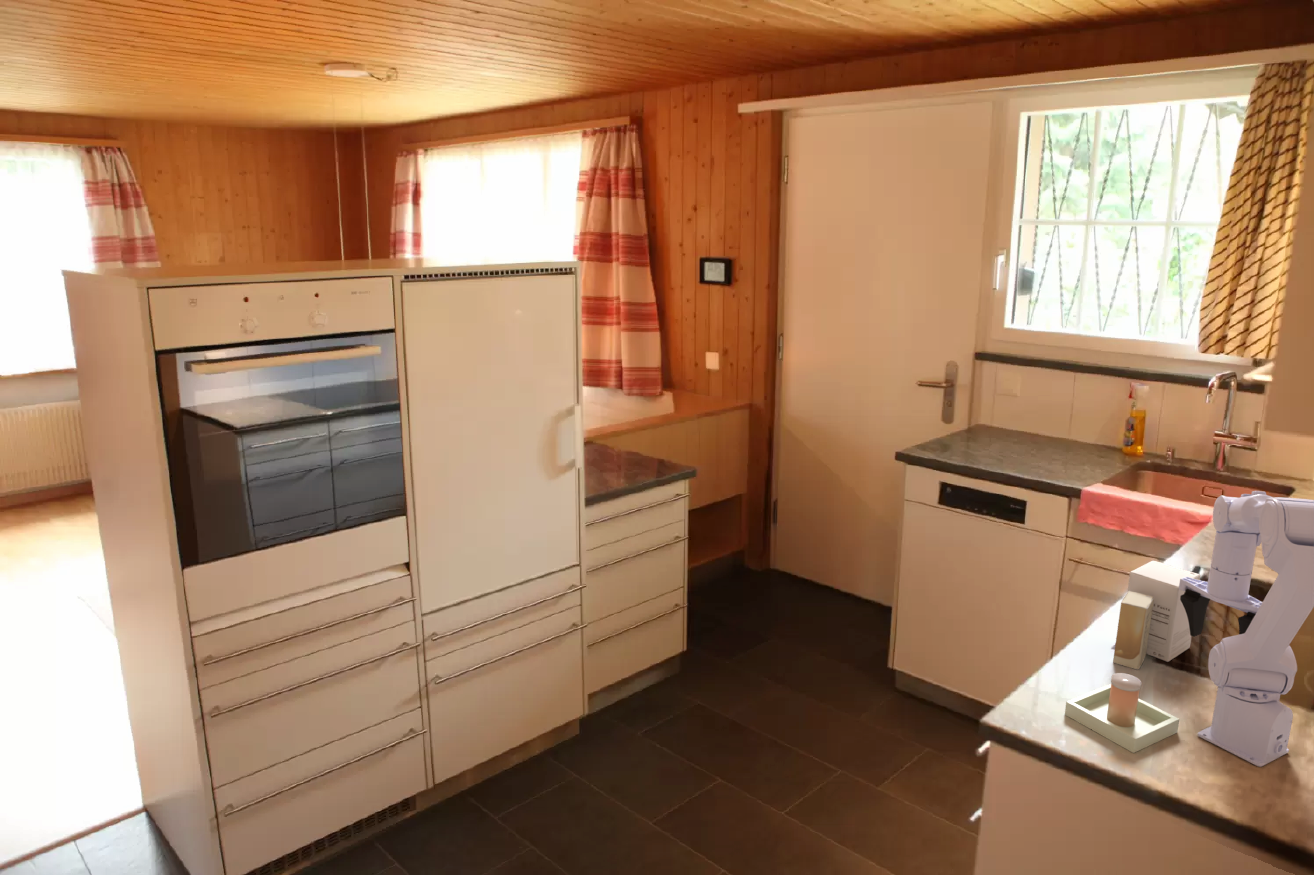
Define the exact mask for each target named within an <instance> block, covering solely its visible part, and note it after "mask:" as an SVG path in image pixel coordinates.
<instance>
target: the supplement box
mask: <svg viewBox="0 0 1314 875" xmlns="http://www.w3.org/2000/svg"><path fill="white" fill-rule="evenodd" d="M1128 576H1129V577H1128V584H1127V585H1128V586H1127V592H1128V591H1132V592H1137V593H1141V594H1145V595H1149V596H1153V597H1154V602H1153V609H1152V616H1151V623H1150V629H1149V636H1148V643H1147V650H1146V655H1148V656H1152V657H1153V658H1157V659H1159V660H1162V661H1164V662H1167V663H1168V662H1170V661H1171V660H1173V659H1174V658H1176V657H1178V656H1179V655H1181V654H1182V653H1184V652H1185V651H1188V649H1190V647H1191V643H1192V636H1191V635H1190V628H1189V622H1188V617H1187V614H1186V611H1185V608H1184V606H1183V604H1182V602H1181V600H1180V596H1181V595H1183V594H1184V593H1185V591H1182V590H1180V589H1179V584H1180V579H1182V578H1184V577H1190V578H1193V579H1196V580H1201V574H1200V573H1196V572H1192V571H1189V570H1185V569H1184V568H1183V569H1181V568H1179V567H1176V566H1172V565H1169V564H1166V563H1164V562H1161V561H1156V560H1151V561H1149V562H1147V563H1145V564H1143V565H1141V566H1139V567H1137V568H1136V569H1133V570H1131V571H1130V572H1129V575H1128Z"/></svg>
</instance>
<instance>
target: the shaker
mask: <svg viewBox="0 0 1314 875" xmlns="http://www.w3.org/2000/svg"><path fill="white" fill-rule="evenodd" d="M1110 684H1111V689H1110V696H1109V704H1108V711H1107V719H1108V721H1109V722H1111V723H1113V724H1115V725H1117V726H1120V727H1132V726H1134V724H1135V718H1136V711H1137V704H1138V698H1140V697H1139V696H1140V691H1141V687H1142V681H1141V679H1139V678H1138V677H1137V676H1135V675H1132V674H1128V673H1124V672H1116V673H1113V674H1111V678H1110Z"/></svg>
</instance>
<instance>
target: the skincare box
mask: <svg viewBox="0 0 1314 875" xmlns="http://www.w3.org/2000/svg"><path fill="white" fill-rule="evenodd" d="M1127 591H1128V590H1127ZM1153 602H1154V597H1153V596H1149V595H1145V594H1141V593H1137V592H1132V591H1128V592H1127V593H1126V594H1125V595H1124V596H1123V599H1122V600H1121V602H1120V609H1119V617H1118V622H1117V632H1116V638H1115V639H1116V640H1115V645H1114V646H1115V647H1114V652H1113V660H1112V662H1113V663H1114V664H1117V665H1120V666H1124V667H1127V668H1130V669H1134V670H1136V671H1137V670H1140V668H1141V666H1142V664H1143V663H1144V660H1145V658H1146V655H1147V654H1146V650H1147V643H1148V636H1149V629H1150V623H1151V616H1152V609H1153Z"/></svg>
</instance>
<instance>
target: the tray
mask: <svg viewBox="0 0 1314 875" xmlns="http://www.w3.org/2000/svg"><path fill="white" fill-rule="evenodd" d="M1110 689H1111V683H1109V684H1106V685H1104V686H1101V687H1099V688H1096V689H1094V690H1091V691H1088V692H1086V693H1084V694H1082V695H1078V696H1076V697H1075V698H1072V699H1069V700H1067V701H1065V708H1064V715H1065V716H1066V717H1068V718H1071V719H1072V720H1073V721H1076V723H1079V724H1080V725H1083V726H1084V727H1086V728H1088V729H1090V730H1091V729H1092V730H1091V731H1093V732H1095V733H1097V734H1099V735H1101V736H1102V737H1104V738H1106V739H1107V740H1109V741H1111V742H1113V743H1115V744H1116V745H1119V746H1120V747H1122V748H1124V749H1125V750H1128V752H1131V753H1132V754H1134V753H1137V752H1139V751H1141V750H1143V749H1145V748H1147V747H1149V746H1151V745H1154V744H1156V743H1158V742H1160V741H1163V740H1164V739H1167V738H1168V737H1171V736H1173V735H1175V734H1177V733H1178V731H1179V726H1180V725H1179V724H1180V718H1178V717H1176V716H1175V715H1172V714H1170V713H1169V712H1167V711H1164V710H1163V709H1160V708H1159V707H1157V706H1155V705H1152V704H1151V703H1149V702H1147V701H1146V700H1142V699H1140V697H1138V704H1137V711H1136V718H1135V724H1134V726H1132V727H1120V726H1117V725H1115V724H1113V723H1111V722H1109V721H1108V719H1107V711H1108V704H1109V696H1110Z"/></svg>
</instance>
